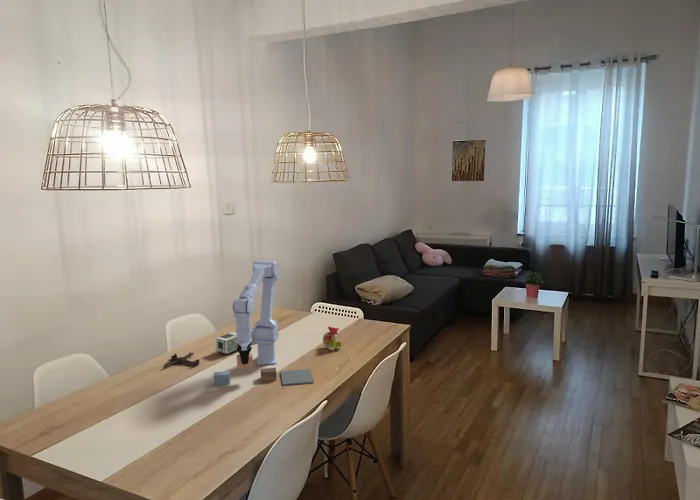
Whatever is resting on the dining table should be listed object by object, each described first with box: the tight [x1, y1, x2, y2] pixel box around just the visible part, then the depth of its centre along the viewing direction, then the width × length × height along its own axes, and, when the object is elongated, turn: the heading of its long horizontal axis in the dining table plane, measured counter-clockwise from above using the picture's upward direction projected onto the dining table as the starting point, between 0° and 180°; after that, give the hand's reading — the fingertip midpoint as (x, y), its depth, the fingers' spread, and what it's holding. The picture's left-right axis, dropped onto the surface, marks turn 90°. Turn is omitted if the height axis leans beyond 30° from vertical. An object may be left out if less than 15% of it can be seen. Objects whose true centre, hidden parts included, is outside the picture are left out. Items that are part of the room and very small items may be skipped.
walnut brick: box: [260, 367, 277, 382], centre depth 207 cm, size 4×6×4 cm, turn 102°
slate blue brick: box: [213, 370, 231, 386], centre depth 203 cm, size 4×6×4 cm, turn 101°
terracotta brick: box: [236, 353, 254, 369], centre depth 204 cm, size 4×6×4 cm, turn 101°
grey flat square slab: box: [279, 368, 314, 386], centre depth 208 cm, size 13×12×1 cm
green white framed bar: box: [215, 319, 279, 354], centre depth 248 cm, size 35×8×7 cm, turn 147°
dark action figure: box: [162, 351, 200, 369], centre depth 223 cm, size 18×4×14 cm
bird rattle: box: [322, 326, 342, 351], centre depth 241 cm, size 6×11×9 cm
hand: (244, 361), depth 204 cm, fingers closed on terracotta brick, 3 cm apart
